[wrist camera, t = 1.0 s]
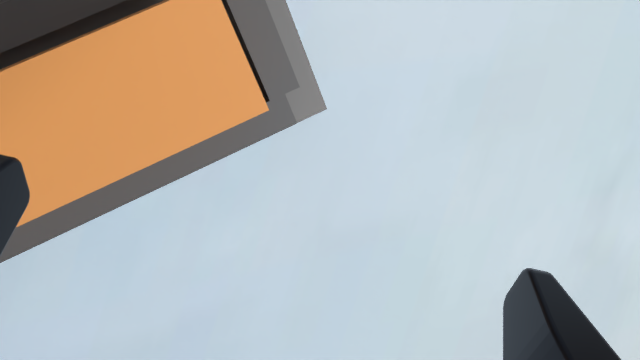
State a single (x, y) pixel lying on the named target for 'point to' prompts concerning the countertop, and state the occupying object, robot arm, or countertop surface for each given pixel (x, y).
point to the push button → (123, 99)
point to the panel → (284, 111)
